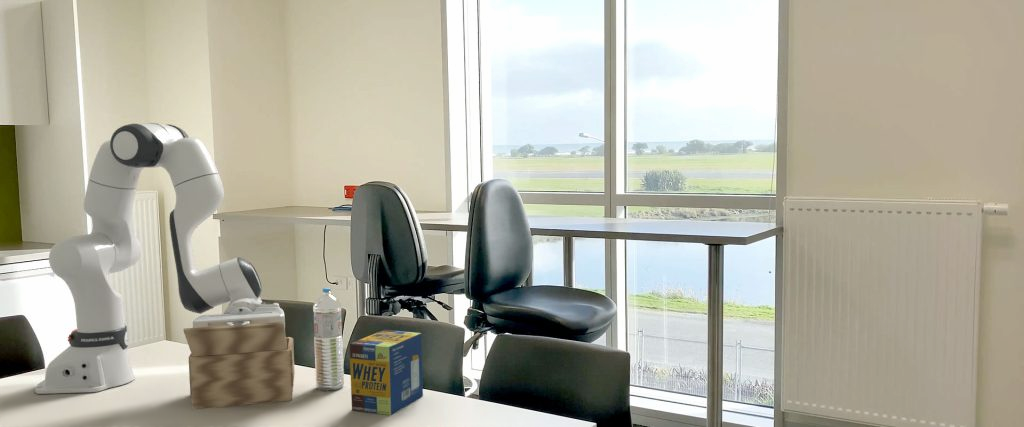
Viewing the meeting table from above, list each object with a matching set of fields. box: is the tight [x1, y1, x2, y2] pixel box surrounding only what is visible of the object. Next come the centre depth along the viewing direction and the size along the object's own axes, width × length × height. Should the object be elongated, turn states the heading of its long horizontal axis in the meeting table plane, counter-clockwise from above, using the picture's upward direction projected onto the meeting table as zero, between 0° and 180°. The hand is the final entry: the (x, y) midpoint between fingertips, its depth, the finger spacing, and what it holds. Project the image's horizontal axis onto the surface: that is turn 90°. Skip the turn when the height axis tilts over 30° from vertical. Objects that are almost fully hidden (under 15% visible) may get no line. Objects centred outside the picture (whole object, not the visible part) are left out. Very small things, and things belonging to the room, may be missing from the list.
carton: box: [188, 336, 296, 410], centre depth 189 cm, size 23×14×12 cm, turn 104°
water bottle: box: [312, 287, 345, 392], centre depth 194 cm, size 7×7×25 cm
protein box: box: [349, 329, 424, 416], centre depth 181 cm, size 10×15×16 cm
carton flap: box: [182, 322, 287, 357], centre depth 177 cm, size 21×13×1 cm
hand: (237, 330), depth 175 cm, fingers closed
